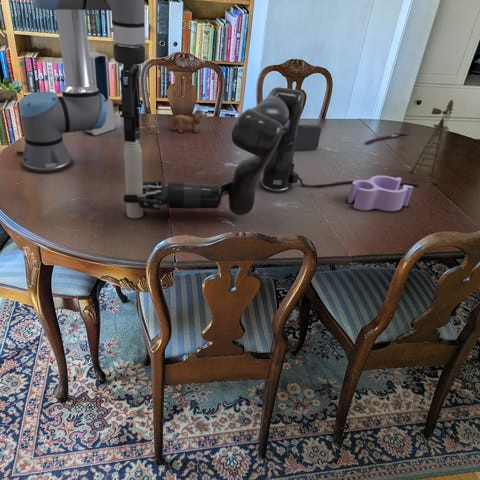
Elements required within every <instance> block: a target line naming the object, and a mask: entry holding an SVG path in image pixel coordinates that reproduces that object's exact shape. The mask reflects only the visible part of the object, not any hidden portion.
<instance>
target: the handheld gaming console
mask: <svg viewBox="0 0 480 480" xmlns="http://www.w3.org/2000/svg"><path fill="white" fill-rule="evenodd" d="M321 133H322V127H321V126H319V125H318V124H298V130H297V136H296V143H295V149H294V151H312V150H317V148H318V147H319V144H320V137H321Z"/></svg>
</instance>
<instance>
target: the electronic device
mask: <svg viewBox="0 0 480 480" xmlns="http://www.w3.org/2000/svg"><path fill="white" fill-rule="evenodd" d="M89 53H90V62H91V70H92V79H93V84H94V85H95V86H96V87H97V88H98V90H99V93H100V94H102V95H103V96H104V98H105V103H106V105H107V117H106V121H105V124H104V125H103V127H101V128H99V129H93V130H91V131H89V130H85V131H83V132H84V133H87V134H91V135H93V136H98V135H102V134H103V133H106V132H111V131H113V130H114V129H115V127H116V116H115V110H114V102H113V100H112V99H110V88H109V87H110V86H109V71H108V70H109V69H108V55H107V54H105V53H100V52H96V51H93V50H89Z"/></svg>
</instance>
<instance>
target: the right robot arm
mask: <svg viewBox="0 0 480 480" xmlns="http://www.w3.org/2000/svg"><path fill="white" fill-rule="evenodd" d="M303 104H304V93H303V92H302V90H299V89H292V88H286V87H280V86H279V87H278V86H277V87H274V88H272V89H271V90H270V92H269V93H268V95H267V97H266V98H265V99H263V100H262V101H260V102H259V103H258V104H257V105H256V106H254V107H250V108H247V109H245V110H244V111H243V112H242V113H241V114H240V115H239V116H238V117H237V119H236V120H235V121H234V124H233V127H232V130H231V141H232V143H233V144H234V145H235V146H236V147H237V148H239V149H241V150H242V151H245V152H247V153H249V154H251V155H253V156H251V157H248V158H246V159H244V160H242V161H240V163H239V164H238V165H237V166H236V168H235V170H234V173H233V176H232V180H230V181H225V182H220V183H215V184H208V183H207V184H205V183H194V182H176V181H175V182H172V181H170V182H168V185H167V186H164V185H163V181H161V180H155V181H143V195H138V196H137V195H126V194H124V195H123V203H125V204H126V203H138V204H139V206H140V208H143V209H148V210H155V211H160V210H161V207H162V206H163V205H167V207H168V209H177V210H178V209H179V210H180V209H181V210H183V209H184V210H193V209H195V210H196V209H218V208H220V206H221V202H222V198H223V197H225V196H228V207H229V208H228V209H229V210H230V211H231V213H232V214H234V215H236V216H241V217H243V216H246V215H248V214H249V213H251V212H252V211H253V209H254V206H255V198H256V197H255V196H256V189H257V188H258V185H259V182H260V179H261V183H260V184H261V187H262V188H263V189H264V190H267V191H269V192H273V193H283V192H286V191H288V189H290V188H291V187H292V185H294V184H298V180H299V182H300V185H301V186H302V187H304V188H320V187H329V186H336V185H344V184H352V183H353V181H354V180H346V181H337V182H333V183H327V184H325V183H324V184H323V183H322V184H315V185H307V184H304V182H303V179H302V178H301V177H299V174H298V173H297V172H296V171H294V170H295V169H294V168H295V161H294V154H295V150H294V149H295V143H296V136H297V130H298V125H300V124H299V123H300V118H301V114H302V110H303ZM261 177H262V178H261ZM400 185H402V186H403V185H409V186H413V187H414V186H415V187H417V186H418V185H419V183H414V182H413V183H412V182H411V183H410V182H402V181H401V182H400Z"/></svg>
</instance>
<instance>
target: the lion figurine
mask: <svg viewBox="0 0 480 480" xmlns="http://www.w3.org/2000/svg"><path fill="white" fill-rule="evenodd" d="M204 116H205V112H204V110H202V109H199V108H198V109H196V110H195V111H194V112H193V113H191V114H190V115H183V114H178V115H175V117H174V118H173V119H172V124H171V127H170V128H169V131H172V130H176V129H177V130H178V132H179V133H183V130H182V129H181V127H182V124H184V125H186V126H190V129H191V131H193V133H197V132H198V131H197V130H196V129H197V125H200V124H201V123H202V122H203V120H204V118H205V117H204ZM176 126H177V128H176Z"/></svg>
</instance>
